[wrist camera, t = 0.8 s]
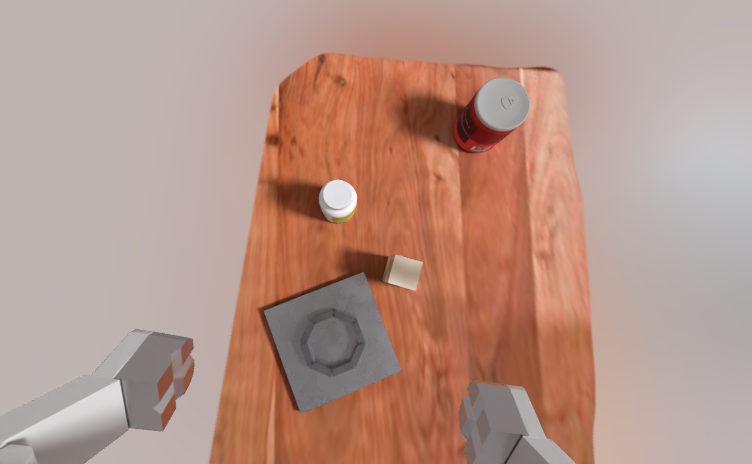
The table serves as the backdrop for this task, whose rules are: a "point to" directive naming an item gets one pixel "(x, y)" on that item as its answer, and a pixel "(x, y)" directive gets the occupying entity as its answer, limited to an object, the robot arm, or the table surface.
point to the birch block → (402, 272)
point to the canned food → (491, 115)
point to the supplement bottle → (338, 201)
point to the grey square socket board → (332, 342)
